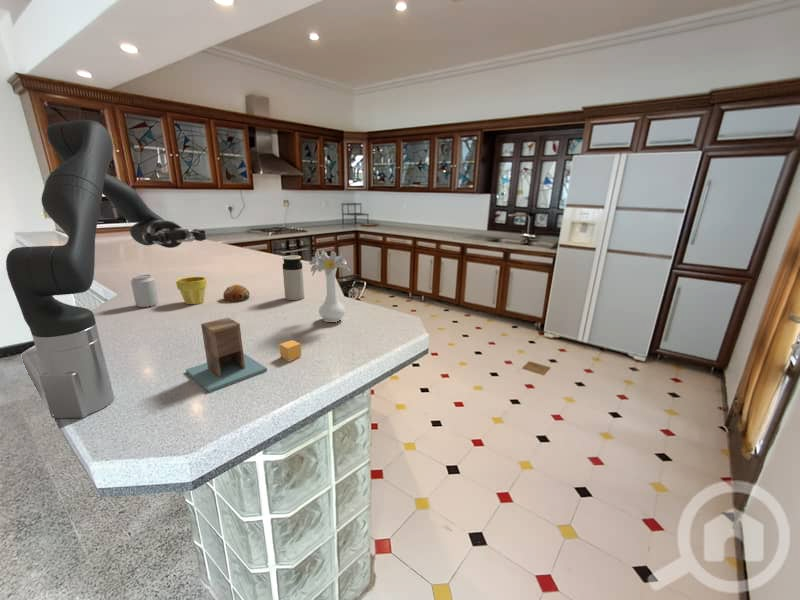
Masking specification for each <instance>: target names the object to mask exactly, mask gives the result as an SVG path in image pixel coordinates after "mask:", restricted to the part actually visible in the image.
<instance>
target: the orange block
mask: <svg viewBox="0 0 800 600" xmlns="http://www.w3.org/2000/svg"><path fill="white" fill-rule="evenodd" d="M279 353H280V358H281V357H283V358H285V359H286V360H285V359H284V360H285V361H287V360H288V361H287V362H290V361H289V360H292V359H295V358H297V357H300V356H302V345H301V343H300V342H297V341H296V340H293V339H291V340H287V341H285V342H282V343H279ZM283 358H282V359H283ZM300 358H301V357H300ZM297 359H298V358H297ZM295 360H296V359H295ZM292 361H293V360H292Z"/></svg>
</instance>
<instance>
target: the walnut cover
mask: <svg viewBox="0 0 800 600" xmlns="http://www.w3.org/2000/svg"><path fill="white" fill-rule="evenodd" d="M240 326H241V325H240V322H238V321H235V320H233V319H232V318H230V317H225V318H221V319H216V320H211V321H207V322H203V323H201V324H200V327H201V333H202V337H203V338H202V339H203V345H204V351H205V357H206V363H207V365H208V369H209V370H210V371H211V372H213V373H214V374H215V375H216V376H218V377H221V370H220V366H221V365H225V364H228V363H231V362H233V363H235V364H236V365H238V366H239V367H241V368H242V369H244V368H245V363H244V355H243V353H244V349H243V342H242V341H243V340H242V333H241V332H242V331H241V327H240Z"/></svg>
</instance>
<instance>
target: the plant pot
mask: <svg viewBox="0 0 800 600" xmlns="http://www.w3.org/2000/svg"><path fill="white" fill-rule="evenodd" d="M175 282H176V287H177V290H179V292H180V293H181V296H182V298H183V300H184V303H185V304H186V305H188V304H194V305H199V303H200V304H202V302H203V303H204V302H205V297H206V296H205V295H206V294H205V293H206V287H207V278H206V277H204V276H188V277H181V278H179V279H176V281H175Z"/></svg>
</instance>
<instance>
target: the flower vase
mask: <svg viewBox="0 0 800 600" xmlns="http://www.w3.org/2000/svg"><path fill="white" fill-rule="evenodd" d="M347 263H348V262H347V260H346V257H345V256H343V252H342V251H340V254H339V255H338V256H337V253H336V251H334V250H332V251H331V252H330V255H328V253H327V252H326V251H324V250H322V251H321V253H320V252H319V251H316V252H315V253H314V256H312V257H311V261H309V262H308V264H309V265H310V266H311V268H310V272H312V277H314V275H315V273H316V272H319V273H320V272H322V271H324V272H325V278H326V279H325V280H326V297H325V300H324V302H323V303H322V304H321V306H320V307H319V308H318V315H319V316H320V317H321V318H322V319H323V322H325V321H326V322H325V323H327V322H336V321H339V320H342V318H343V317H344V316H345V314H346V307H345V306H344V305H343V303H341V302H340V300H339V298H338V295H337V288H336V275H337V274H336V273H337V270H338V268H345V269H346V270H347V271H349V272H351V270H350V268H349V267H348V266H347ZM339 322H340V321H339ZM336 323H337V322H336Z"/></svg>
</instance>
